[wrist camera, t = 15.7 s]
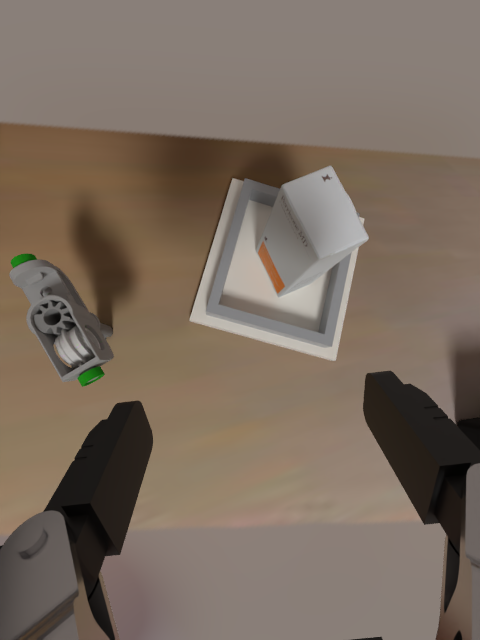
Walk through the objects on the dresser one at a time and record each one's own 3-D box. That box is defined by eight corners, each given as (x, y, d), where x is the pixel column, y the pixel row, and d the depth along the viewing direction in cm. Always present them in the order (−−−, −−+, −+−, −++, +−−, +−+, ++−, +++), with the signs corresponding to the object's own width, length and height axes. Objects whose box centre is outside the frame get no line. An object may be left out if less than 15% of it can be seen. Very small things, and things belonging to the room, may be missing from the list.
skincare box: (253, 251, 31) (279, 181, 19) (287, 237, 31) (333, 161, 20) (277, 300, 30) (319, 260, 18) (311, 285, 31) (373, 237, 19)
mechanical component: (93, 284, 30) (34, 244, 20) (143, 367, 29) (107, 368, 19) (67, 298, 29) (-7, 265, 19) (117, 383, 28) (66, 393, 18)
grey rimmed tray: (190, 321, 30) (187, 316, 27) (231, 183, 33) (233, 165, 30) (331, 360, 31) (344, 360, 28) (360, 222, 34) (374, 209, 31)
